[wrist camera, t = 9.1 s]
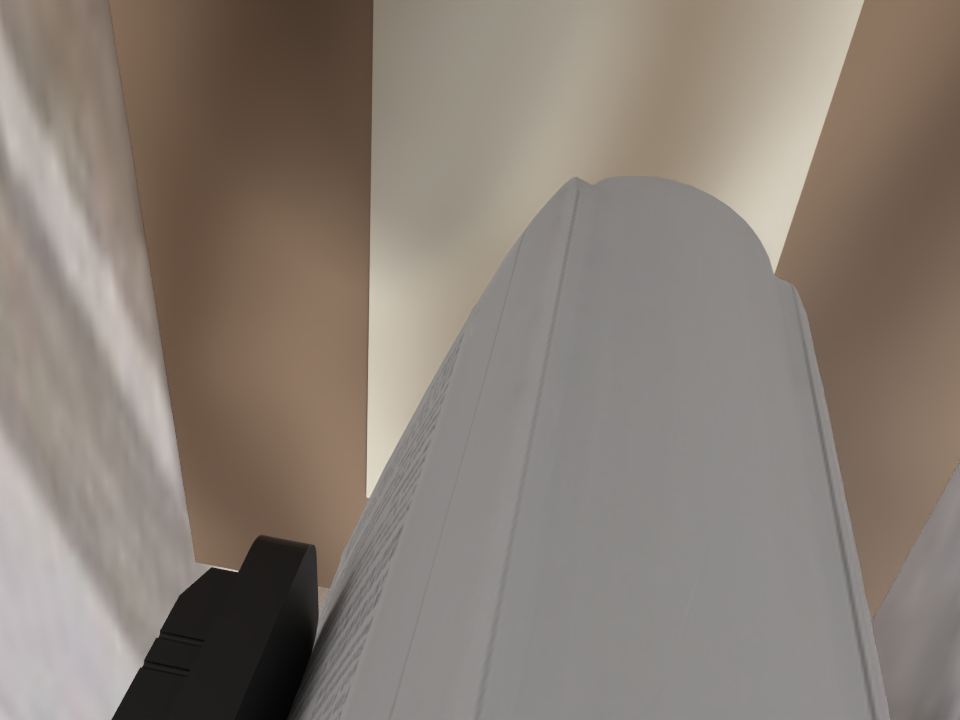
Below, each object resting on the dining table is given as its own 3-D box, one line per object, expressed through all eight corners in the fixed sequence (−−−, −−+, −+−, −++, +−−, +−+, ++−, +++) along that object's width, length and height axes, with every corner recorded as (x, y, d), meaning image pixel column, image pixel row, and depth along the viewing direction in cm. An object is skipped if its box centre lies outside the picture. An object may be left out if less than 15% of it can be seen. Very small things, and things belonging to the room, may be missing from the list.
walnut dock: (1353, -338, 12) (1558, -347, 9) (830, 655, 25) (849, 774, 23) (72, -464, 14) (-82, -506, 11) (209, 536, 27) (156, 634, 24)
